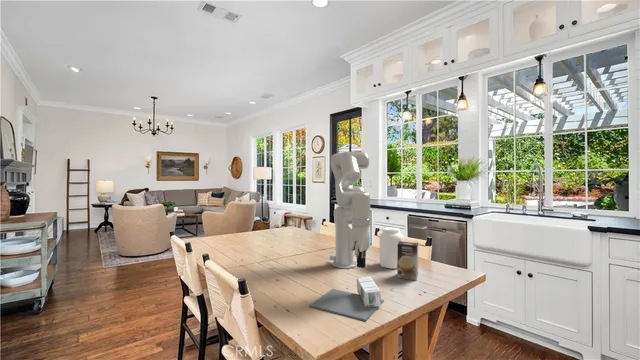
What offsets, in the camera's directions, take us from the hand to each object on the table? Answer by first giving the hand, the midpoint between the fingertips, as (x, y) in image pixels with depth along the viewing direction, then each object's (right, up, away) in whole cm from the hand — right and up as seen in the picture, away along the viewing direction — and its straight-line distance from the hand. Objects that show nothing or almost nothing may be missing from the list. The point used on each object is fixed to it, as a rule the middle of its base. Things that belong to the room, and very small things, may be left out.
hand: (361, 267), depth 121 cm
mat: (-7, -11, -11) cm, 17 cm away
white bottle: (+21, -10, +36) cm, 43 cm away
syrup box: (+1, -6, -1) cm, 7 cm away
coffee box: (+24, -10, +18) cm, 32 cm away
